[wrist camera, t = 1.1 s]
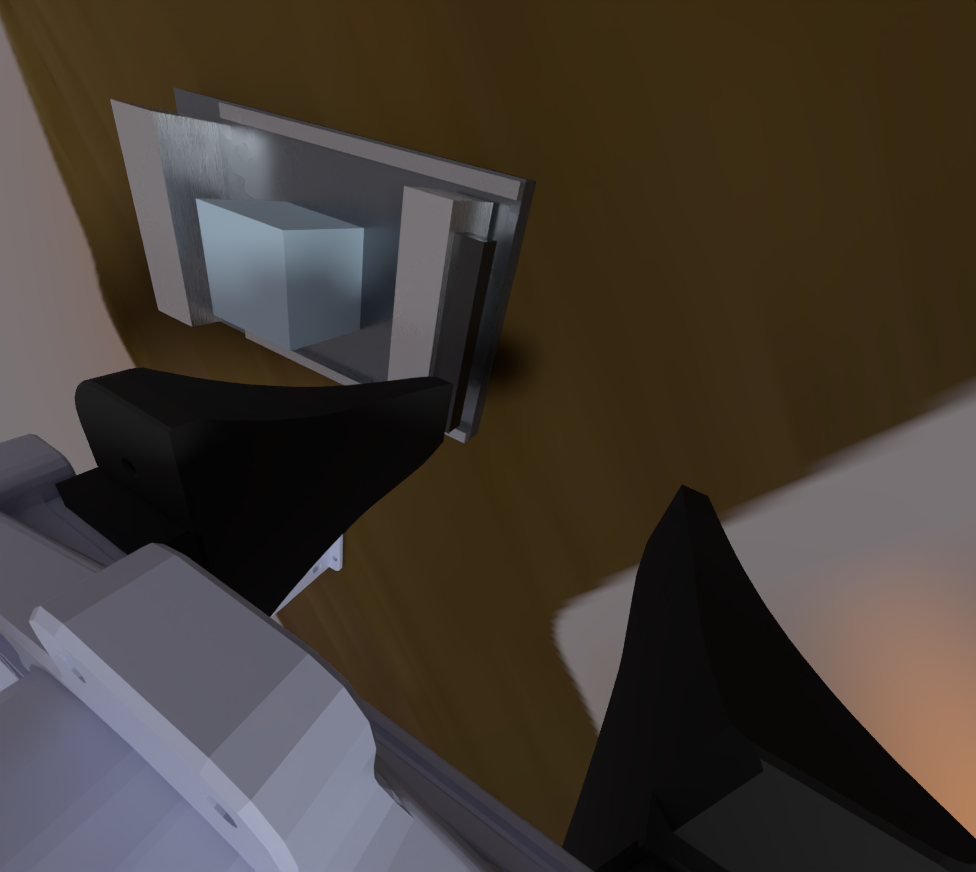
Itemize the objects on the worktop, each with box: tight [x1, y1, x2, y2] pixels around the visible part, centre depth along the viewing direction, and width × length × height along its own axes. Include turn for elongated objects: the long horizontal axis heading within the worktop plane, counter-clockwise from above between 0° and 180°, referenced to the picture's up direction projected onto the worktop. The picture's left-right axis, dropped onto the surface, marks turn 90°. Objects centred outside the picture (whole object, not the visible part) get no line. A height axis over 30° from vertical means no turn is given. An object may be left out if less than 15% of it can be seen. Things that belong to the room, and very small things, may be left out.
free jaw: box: [388, 186, 497, 434], centre depth 18 cm, size 10×3×3 cm, turn 167°
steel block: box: [196, 198, 364, 351], centre depth 20 cm, size 5×5×4 cm
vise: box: [110, 88, 536, 443], centre depth 21 cm, size 12×20×4 cm, turn 77°
